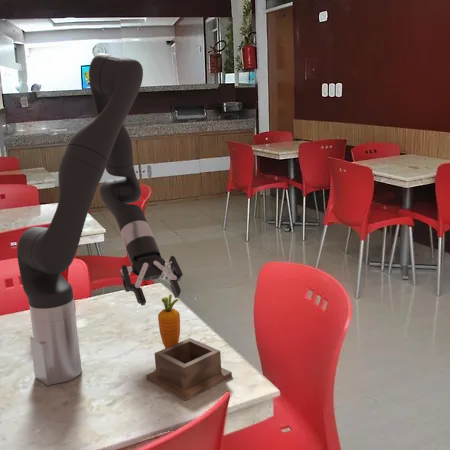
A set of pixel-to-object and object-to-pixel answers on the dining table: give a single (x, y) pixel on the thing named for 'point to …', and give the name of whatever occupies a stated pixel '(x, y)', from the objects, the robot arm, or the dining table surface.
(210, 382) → the socket block
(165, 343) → the carrot
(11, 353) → the dining table surface
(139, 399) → the dining table surface
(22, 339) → the dining table surface
